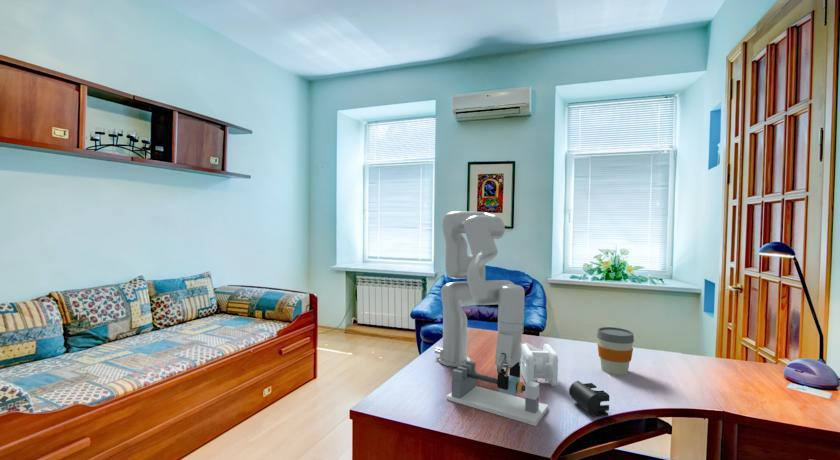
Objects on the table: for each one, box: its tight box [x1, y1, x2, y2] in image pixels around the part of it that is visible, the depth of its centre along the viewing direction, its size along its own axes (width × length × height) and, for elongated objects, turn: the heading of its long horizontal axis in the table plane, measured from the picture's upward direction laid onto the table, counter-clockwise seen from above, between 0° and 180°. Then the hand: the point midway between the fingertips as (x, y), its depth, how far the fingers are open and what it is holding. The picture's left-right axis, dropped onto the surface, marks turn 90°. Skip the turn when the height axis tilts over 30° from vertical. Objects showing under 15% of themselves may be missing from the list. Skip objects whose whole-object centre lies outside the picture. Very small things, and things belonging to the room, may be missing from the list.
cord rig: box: [446, 361, 549, 427], centre depth 121 cm, size 28×12×9 cm, turn 57°
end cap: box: [568, 380, 610, 418], centre depth 118 cm, size 10×7×7 cm
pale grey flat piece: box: [523, 342, 543, 351], centre depth 170 cm, size 25×24×1 cm
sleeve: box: [498, 374, 521, 396], centre depth 118 cm, size 5×4×4 cm
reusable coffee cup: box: [596, 326, 635, 376], centre depth 150 cm, size 13×13×15 cm
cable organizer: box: [520, 343, 559, 388], centre depth 139 cm, size 15×11×12 cm
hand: (508, 382), depth 119 cm, fingers open, 9 cm apart
